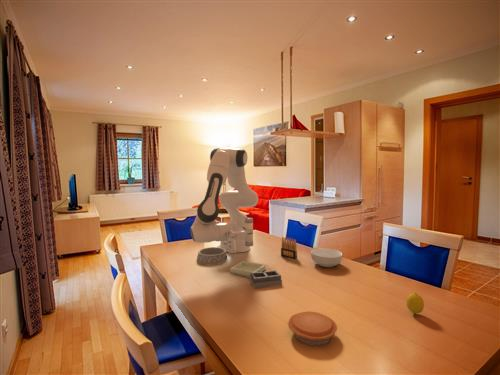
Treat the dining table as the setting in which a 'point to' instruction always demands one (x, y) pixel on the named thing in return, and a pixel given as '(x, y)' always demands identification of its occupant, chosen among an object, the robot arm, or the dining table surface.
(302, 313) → the pie
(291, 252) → the ammunition clip
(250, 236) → the fuse
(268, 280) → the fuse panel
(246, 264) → the tray
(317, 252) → the cereal bowl
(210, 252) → the dog bowl
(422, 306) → the lemon
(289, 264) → the dining table surface
